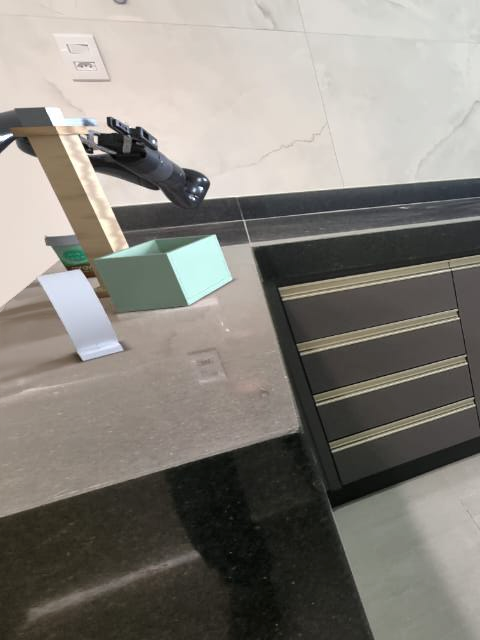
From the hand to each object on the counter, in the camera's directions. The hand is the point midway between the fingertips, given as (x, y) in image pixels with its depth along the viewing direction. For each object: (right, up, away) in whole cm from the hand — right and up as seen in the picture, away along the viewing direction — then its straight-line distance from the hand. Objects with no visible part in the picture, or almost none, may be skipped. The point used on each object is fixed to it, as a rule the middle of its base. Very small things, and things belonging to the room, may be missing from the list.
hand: (84, 121), depth 108 cm
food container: (-16, -29, +18) cm, 38 cm away
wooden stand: (+4, -34, +4) cm, 35 cm away
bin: (+20, -36, -1) cm, 41 cm away
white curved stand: (+32, -48, -28) cm, 64 cm away
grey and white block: (+1, -3, -5) cm, 6 cm away
